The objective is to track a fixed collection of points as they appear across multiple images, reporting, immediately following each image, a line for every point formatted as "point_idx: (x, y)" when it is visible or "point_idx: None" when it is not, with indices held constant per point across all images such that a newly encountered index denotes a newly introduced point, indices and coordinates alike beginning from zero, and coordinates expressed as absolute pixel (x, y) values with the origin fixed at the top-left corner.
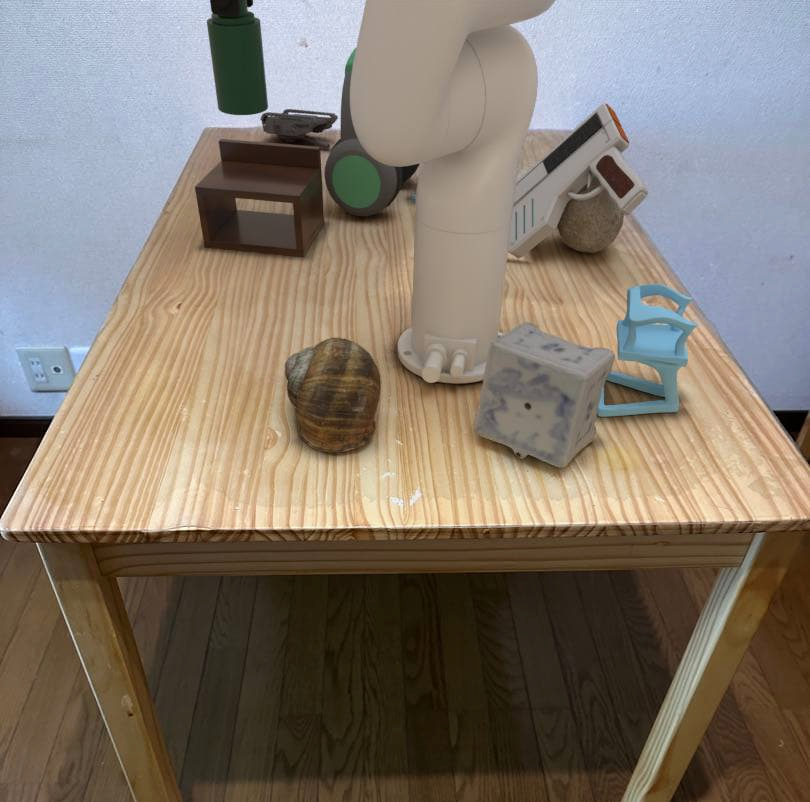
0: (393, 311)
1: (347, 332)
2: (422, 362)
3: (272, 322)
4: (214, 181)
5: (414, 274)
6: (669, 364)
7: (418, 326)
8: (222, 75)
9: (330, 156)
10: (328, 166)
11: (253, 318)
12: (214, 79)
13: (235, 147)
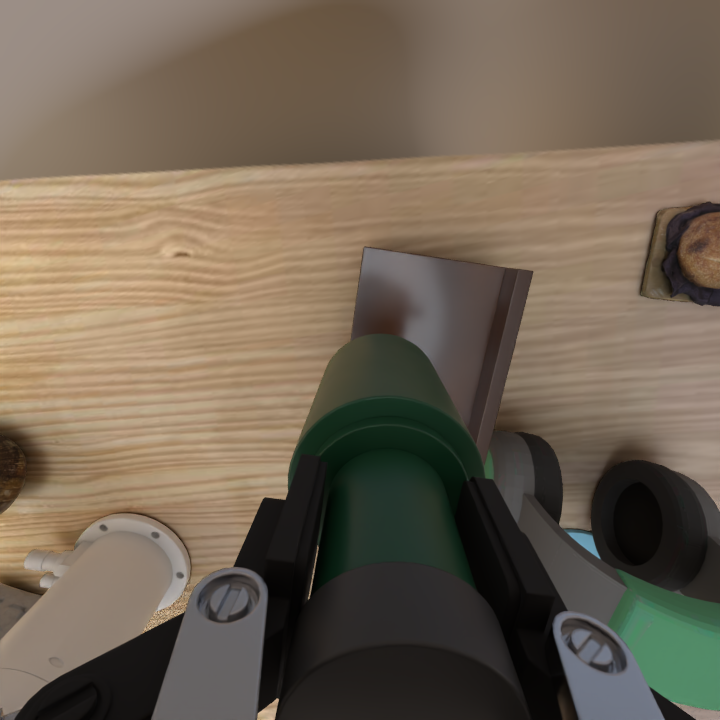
0: (214, 505)
1: (158, 461)
2: (89, 541)
3: (163, 379)
4: (392, 278)
5: (51, 599)
6: None
7: (77, 561)
8: (318, 389)
9: (507, 465)
10: (499, 453)
11: (168, 355)
12: (359, 351)
13: (506, 304)
